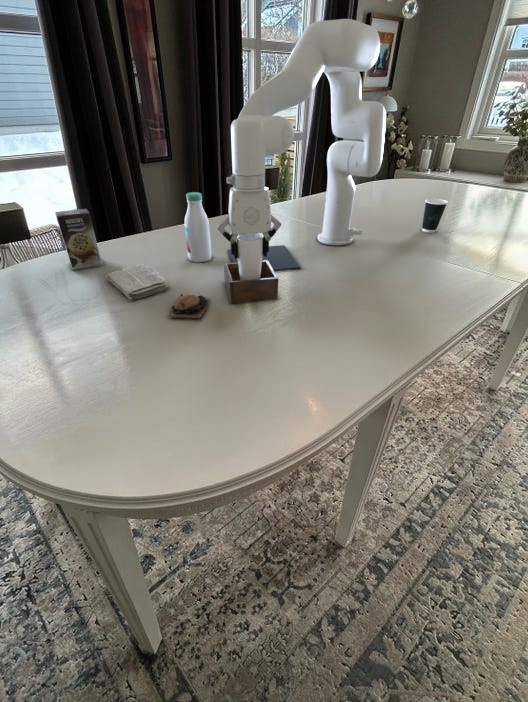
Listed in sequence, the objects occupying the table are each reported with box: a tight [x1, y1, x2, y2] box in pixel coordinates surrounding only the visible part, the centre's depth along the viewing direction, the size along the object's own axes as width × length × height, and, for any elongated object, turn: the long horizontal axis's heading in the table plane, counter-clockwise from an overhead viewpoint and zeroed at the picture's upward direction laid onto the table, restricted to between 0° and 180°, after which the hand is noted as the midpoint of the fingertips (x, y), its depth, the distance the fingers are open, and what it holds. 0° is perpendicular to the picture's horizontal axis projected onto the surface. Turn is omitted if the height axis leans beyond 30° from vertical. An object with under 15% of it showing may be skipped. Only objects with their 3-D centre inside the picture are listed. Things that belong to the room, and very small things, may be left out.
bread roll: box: [170, 293, 208, 320], centre depth 93 cm, size 11×8×4 cm
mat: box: [227, 244, 301, 272], centre depth 120 cm, size 20×20×1 cm
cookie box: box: [54, 208, 103, 271], centre depth 113 cm, size 9×6×16 cm
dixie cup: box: [421, 198, 449, 234], centre depth 140 cm, size 8×8×11 cm
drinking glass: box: [236, 233, 263, 280], centre depth 98 cm, size 7×7×15 cm
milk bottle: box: [184, 191, 212, 263], centre depth 115 cm, size 8×8×20 cm
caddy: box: [223, 260, 279, 304], centre depth 100 cm, size 13×13×6 cm
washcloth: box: [106, 263, 169, 301], centre depth 104 cm, size 12×18×3 cm, turn 39°
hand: (249, 255), depth 96 cm, fingers open, 7 cm apart
